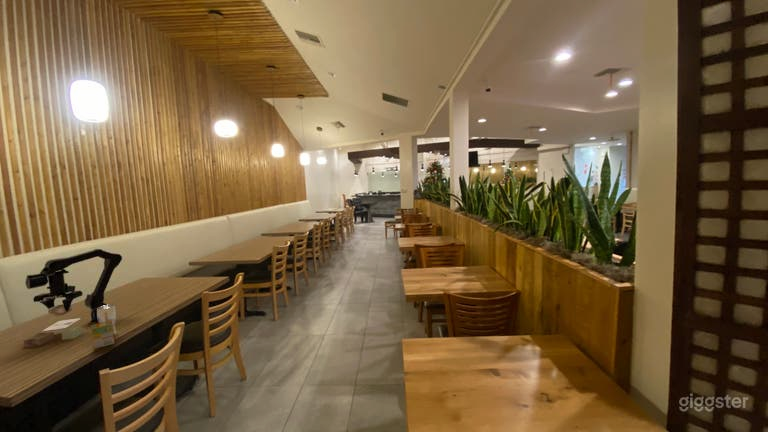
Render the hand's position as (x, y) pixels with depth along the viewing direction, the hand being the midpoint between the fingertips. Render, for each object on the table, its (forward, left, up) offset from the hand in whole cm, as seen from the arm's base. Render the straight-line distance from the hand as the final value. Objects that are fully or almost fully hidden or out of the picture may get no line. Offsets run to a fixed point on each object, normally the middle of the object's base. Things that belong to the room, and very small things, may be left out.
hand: (60, 311), depth 162 cm
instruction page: (+8, -10, -11) cm, 17 cm away
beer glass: (-29, +11, -11) cm, 33 cm away
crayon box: (-35, +23, -11) cm, 43 cm away
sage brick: (-11, +9, -11) cm, 18 cm away
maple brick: (0, 0, -1) cm, 1 cm away
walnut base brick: (0, +13, -11) cm, 17 cm away
